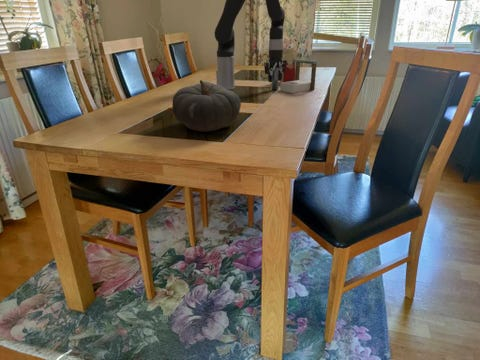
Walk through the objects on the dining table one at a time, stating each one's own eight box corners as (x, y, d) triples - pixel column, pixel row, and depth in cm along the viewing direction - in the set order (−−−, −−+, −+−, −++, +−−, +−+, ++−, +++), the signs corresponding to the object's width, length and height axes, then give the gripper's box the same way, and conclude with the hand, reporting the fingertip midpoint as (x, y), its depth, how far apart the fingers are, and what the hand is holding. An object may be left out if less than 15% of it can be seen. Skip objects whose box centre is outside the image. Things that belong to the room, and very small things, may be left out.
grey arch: (309, 91, 180) (311, 61, 174) (291, 87, 191) (292, 59, 184) (314, 90, 182) (316, 60, 176) (296, 86, 193) (298, 58, 186)
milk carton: (294, 81, 207) (296, 46, 199) (295, 84, 199) (297, 48, 190) (280, 81, 208) (281, 46, 199) (280, 84, 200) (281, 48, 191)
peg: (274, 90, 183) (274, 67, 178) (270, 89, 186) (270, 67, 180) (279, 89, 185) (279, 67, 180) (274, 89, 187) (275, 66, 182)
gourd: (207, 106, 143) (207, 65, 132) (253, 126, 131) (257, 83, 120) (161, 126, 127) (156, 82, 117) (208, 151, 115) (208, 103, 104)
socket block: (293, 93, 177) (293, 85, 175) (280, 90, 184) (280, 82, 182) (310, 89, 183) (311, 82, 182) (297, 87, 191) (297, 80, 189)
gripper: (281, 47, 182) (280, 78, 190) (260, 49, 175) (260, 81, 182) (290, 48, 177) (289, 80, 184) (269, 49, 169) (269, 83, 177)
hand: (274, 81), depth 183 cm, fingers open, 6 cm apart
